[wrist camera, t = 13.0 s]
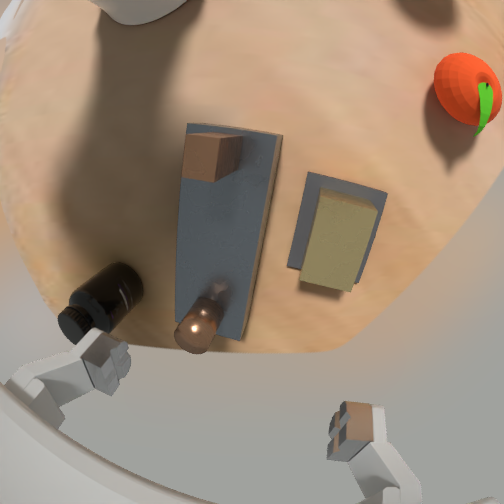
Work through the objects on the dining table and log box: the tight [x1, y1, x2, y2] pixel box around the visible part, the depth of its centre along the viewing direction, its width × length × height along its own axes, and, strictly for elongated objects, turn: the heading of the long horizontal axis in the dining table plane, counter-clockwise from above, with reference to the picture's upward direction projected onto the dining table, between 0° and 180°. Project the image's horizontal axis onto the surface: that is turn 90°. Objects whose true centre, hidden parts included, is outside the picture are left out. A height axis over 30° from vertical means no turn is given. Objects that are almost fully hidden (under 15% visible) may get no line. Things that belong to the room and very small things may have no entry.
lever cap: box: [299, 187, 378, 292], centre depth 26 cm, size 8×5×4 cm, turn 171°
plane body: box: [174, 123, 283, 354], centre depth 26 cm, size 22×8×10 cm, turn 171°
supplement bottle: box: [58, 262, 143, 345], centre depth 32 cm, size 7×7×12 cm
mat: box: [287, 172, 388, 283], centre depth 28 cm, size 10×8×1 cm
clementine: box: [434, 53, 502, 137], centre depth 16 cm, size 8×7×7 cm
